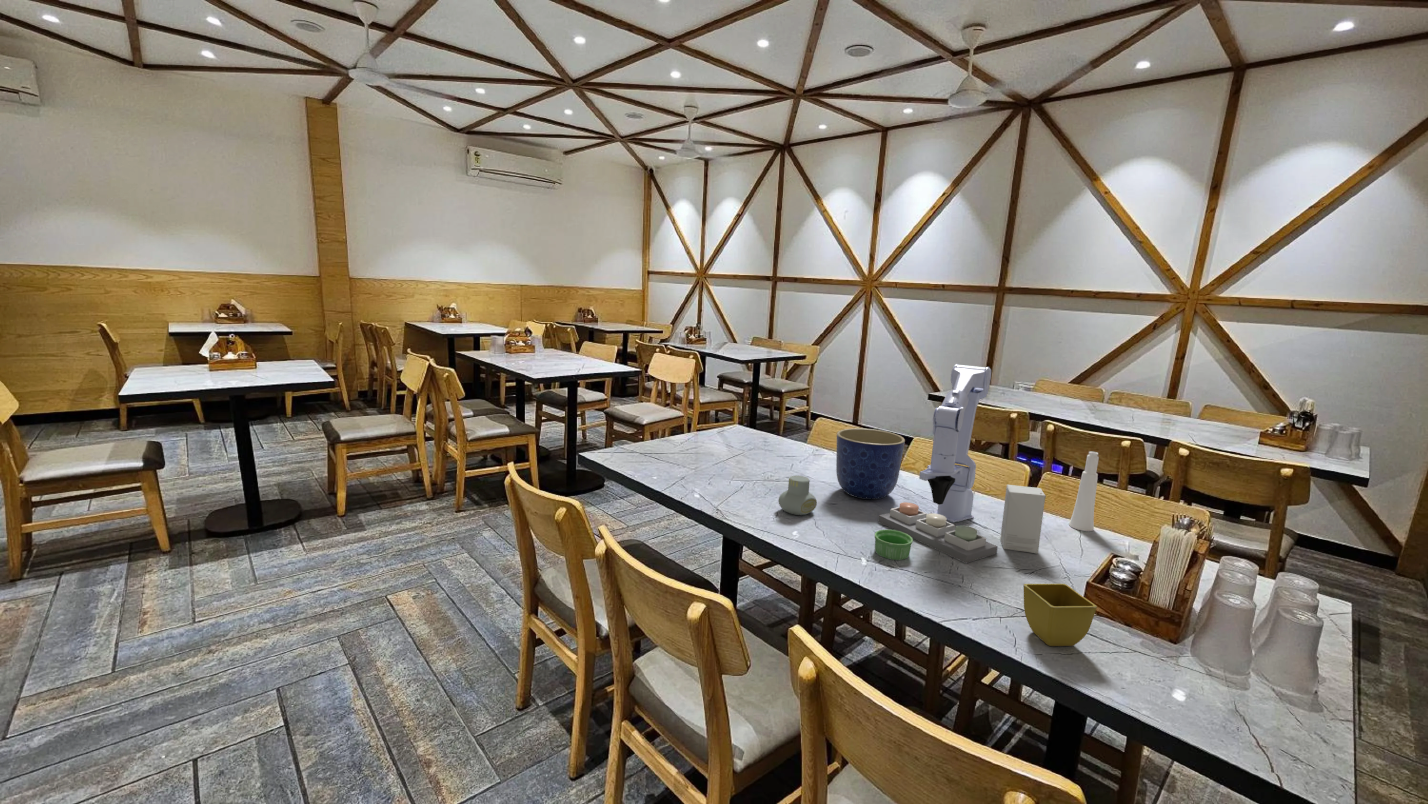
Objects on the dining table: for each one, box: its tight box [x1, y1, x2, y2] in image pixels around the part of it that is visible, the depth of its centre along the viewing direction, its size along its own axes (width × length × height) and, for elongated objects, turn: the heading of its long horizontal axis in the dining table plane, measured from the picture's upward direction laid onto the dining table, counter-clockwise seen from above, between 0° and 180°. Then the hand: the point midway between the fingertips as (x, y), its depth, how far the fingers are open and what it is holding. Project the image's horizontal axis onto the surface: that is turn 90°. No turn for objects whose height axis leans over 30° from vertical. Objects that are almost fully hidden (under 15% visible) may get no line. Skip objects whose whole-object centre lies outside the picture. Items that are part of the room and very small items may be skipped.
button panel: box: [877, 506, 998, 564], centre depth 154 cm, size 12×28×4 cm, turn 31°
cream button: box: [925, 512, 947, 528], centre depth 154 cm, size 5×5×2 cm
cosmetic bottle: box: [1068, 451, 1100, 532], centre depth 164 cm, size 6×6×22 cm
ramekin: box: [874, 529, 914, 561], centre depth 143 cm, size 9×9×4 cm
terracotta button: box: [898, 501, 920, 516], centre depth 161 cm, size 5×5×2 cm
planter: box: [835, 427, 906, 500], centre depth 184 cm, size 21×21×19 cm
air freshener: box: [777, 475, 818, 516], centre depth 168 cm, size 11×8×10 cm
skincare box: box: [999, 484, 1047, 554], centre depth 149 cm, size 8×7×16 cm
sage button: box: [955, 524, 978, 542], centre depth 146 cm, size 5×5×2 cm
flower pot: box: [1023, 583, 1098, 647], centre depth 109 cm, size 9×9×9 cm
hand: (937, 503), depth 153 cm, fingers closed
